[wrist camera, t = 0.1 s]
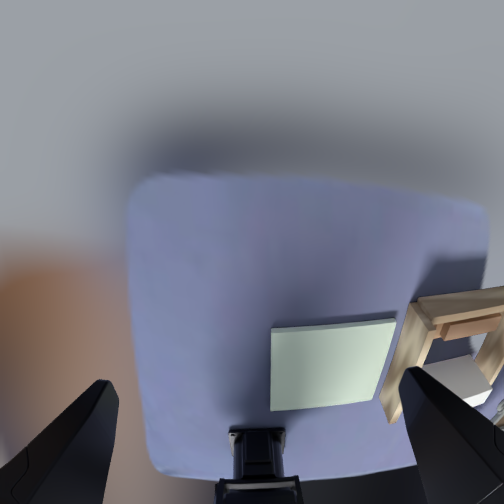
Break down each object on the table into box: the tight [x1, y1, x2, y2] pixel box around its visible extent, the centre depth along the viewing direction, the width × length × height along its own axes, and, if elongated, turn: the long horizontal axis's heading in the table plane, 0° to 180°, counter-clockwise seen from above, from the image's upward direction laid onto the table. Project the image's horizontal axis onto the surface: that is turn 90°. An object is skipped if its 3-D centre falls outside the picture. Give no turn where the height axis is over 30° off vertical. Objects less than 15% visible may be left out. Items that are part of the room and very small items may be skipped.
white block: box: [422, 354, 492, 407], centre depth 28 cm, size 2×9×6 cm, turn 92°
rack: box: [379, 286, 504, 424], centre depth 27 cm, size 14×14×4 cm
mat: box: [270, 318, 396, 411], centre depth 28 cm, size 11×11×1 cm
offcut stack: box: [433, 312, 502, 341], centre depth 25 cm, size 2×8×3 cm, turn 94°
